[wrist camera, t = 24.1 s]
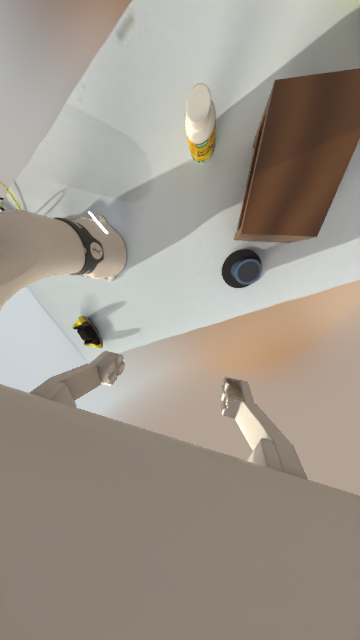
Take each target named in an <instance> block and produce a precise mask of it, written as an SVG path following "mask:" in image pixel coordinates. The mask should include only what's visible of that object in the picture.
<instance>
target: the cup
mask: <svg viewBox="0 0 360 640" xmlns="http://www.w3.org/2000/svg"><path fill="white" fill-rule="evenodd" d="M261 272H262V267H261V264H260V263H259V262H258V261H257V260H254V259H240V260H238V261H236V262H235V263H234V264H233V266H232V268H231V274H232V276H233V277H234V278H235V279H236V280H237V281H238V282H240V283H241V284H251V283H254V282H255V281H256V280H257V279H258V278H259V277H260V275H261Z"/></svg>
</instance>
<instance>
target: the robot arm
mask: <svg viewBox="0 0 360 640" xmlns="http://www.w3.org/2000/svg"><path fill="white" fill-rule="evenodd" d="M3 199H4V198H1V197H0V200H3ZM0 209H1V210H2V212H0V310H1V308H2V307H3V305H4V304H5V303H6V301H8V299H10V297H12V296H13V295H14V294H15V293H16V292H18V291H19V290H20V289H22V288H23V287H25V286H27V285H28V284H30V283H32V282H34V281H37V280H39V279H43V278H47V277H52V276H58V275H65V274H70V275H79V276H87V277H88V278H100V279H103V280H106V281H114V279H115V277H116V275H117V274H118V273H120V272H121V271H122V270H123V268H124V266H125V264H126V259H127V252H126V247H125V244H124V242H123V240H122V238H121V236H120V235H119V234H118V233H117V232H116V231H115V230H114V229H113V228H112V227H111V226H110V225H109V223H108V222H107V220H106V219H105V217H104V216H101V215H98V216H93V214H92V213H91V212H89V211H88V213H89V214H90V215H91V217H90V218H85V217H80V218H79V219H75V220H72V221H71V220H69V219H65V218H50V217H46V216H42V215H38V214H34V213H30V212H27V211H23V210H18V209H10V210H5V209H4V208H3V207H2V208H1V207H0ZM107 277H108V278H107ZM123 359H124V358H123V355H121V354H117V353H113V352H108V351H104V352H103V353H102V354H100V355H99V356H98V357H97V358H96V359H95V360H93V361H92V362H91V363H90V364H85V365H83V366H80V367H77V368H75V369H72V370H70V371H67V372H64V373H62V374H59V375H56V376H54V377H51V378H49V379H48V380H46V381H45V382H44V383H43V384H41V385H40V386H38V387H37V388H36V389H34V390H33V391H31V392H30V393H27V392H23V391H20V390H17V389H14V388H11V387H7V386H4V385H1V384H0V640H360V496H359V495H355V494H352V493H348V492H346V491H343V490H339V489H336V488H333V487H330V486H326V485H323V484H320V483H317V482H314V481H310V480H308V479H307V476H306V474H305V472H304V470H303V467H302V465H301V463H300V460H299V458H298V456H297V453H296V451H295V449H294V446H293V445H292V444H291V443H290V442H289V440H288V439H287V438H286V437H285V436H284V435H283V434H282V433H281V431H280V430H279V429H278V428H277V427H276V426H275V425H274V423H273V422H272V421H271V420H270V419H269V418H268V417H267V415H266V414H265V413H264V412H263V411H262V410H261V409H260V408H259V407H258V405H257V404H254V401H253V398H252V394H251V391H250V388H249V384H248V382H247V381H242V380H237V379H232V378H227V377H225V378H224V384H223V385H222V388H221V400H222V405H221V406H222V415H224V416H228V417H231V418H234V419H235V420H236V422H237V424H238V425H239V427H240V429H241V431H242V432H243V434H244V436H245V438H246V439H247V441H248V443H249V445H250V446H251V448H252V450H253V452H252V454H251V455H250V457H249V458H248V460H247V461H245V460H242V459H239V458H236V457H232V456H230V455H226V454H223V453H220V452H217V451H213V450H210V449H207V448H204V447H201V446H197V445H194V444H191V443H188V442H185V441H181V440H178V439H175V438H172V437H168V436H165V435H162V434H159V433H155V432H152V431H149V430H146V429H143V428H140V427H136V426H133V425H130V424H126V423H123V422H120V421H117V420H114V419H111V418H107V417H104V416H101V415H98V414H95V413H91V412H88V411H85V410H81V409H78V408H76V404H75V400H76V399H78V398H80V397H81V396H83V395H84V394H86V393H88V392H89V391H91V390H93V389H94V388H96V387H97V386H99V385H101V383H102V384H106V385H112V384H113V383H114V382H115V380H116V379H117V376H118V375H120V374H121V373H122V372H123V370H124V366H125V364H124V362H123Z"/></svg>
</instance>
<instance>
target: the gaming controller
mask: <svg viewBox="0 0 360 640" xmlns="http://www.w3.org/2000/svg"><path fill="white" fill-rule="evenodd" d="M72 328H73V329H78V331H77V332H78V334H79V335H80V337H81V338H82V339H83V340H85V342H84V345H86V346H89V345H92V346H94V347H95V348H101V347H103V341H102V339H101V338H100V336H99V333H98V332H97V331H96V329H95V328H94V326H93V325H92V323H91V322H90V320H89V319H88V318H86V317H84V316H81V317H79V319H78V321H77V322H76V323H75V324H74V325H73V327H72Z"/></svg>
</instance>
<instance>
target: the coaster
mask: <svg viewBox="0 0 360 640" xmlns="http://www.w3.org/2000/svg"><path fill="white" fill-rule="evenodd" d="M240 259H254V260H257V261H258V262H259V263H260V264H261V261H260V258H259V256H258V255H257V254H256V253H255V252H253V251H251V250H246V249H245V250H238V251H236V252H234V253H232V254H231V255H230V256H229V257H228V258H227V259H226V260H225V262H224V264H223V267H222V276H223V279H224V281H225V282H226V283H227V284H228V285H229V286H231V287H234V288H243V287H246V286H248V285H250V284H241V283H240V282H238V281H237V280H236V279H235V278H234V277H233V276H232V274H231V268H232V266H233V264H234V263H235V262H236V261H238V260H240Z"/></svg>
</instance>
